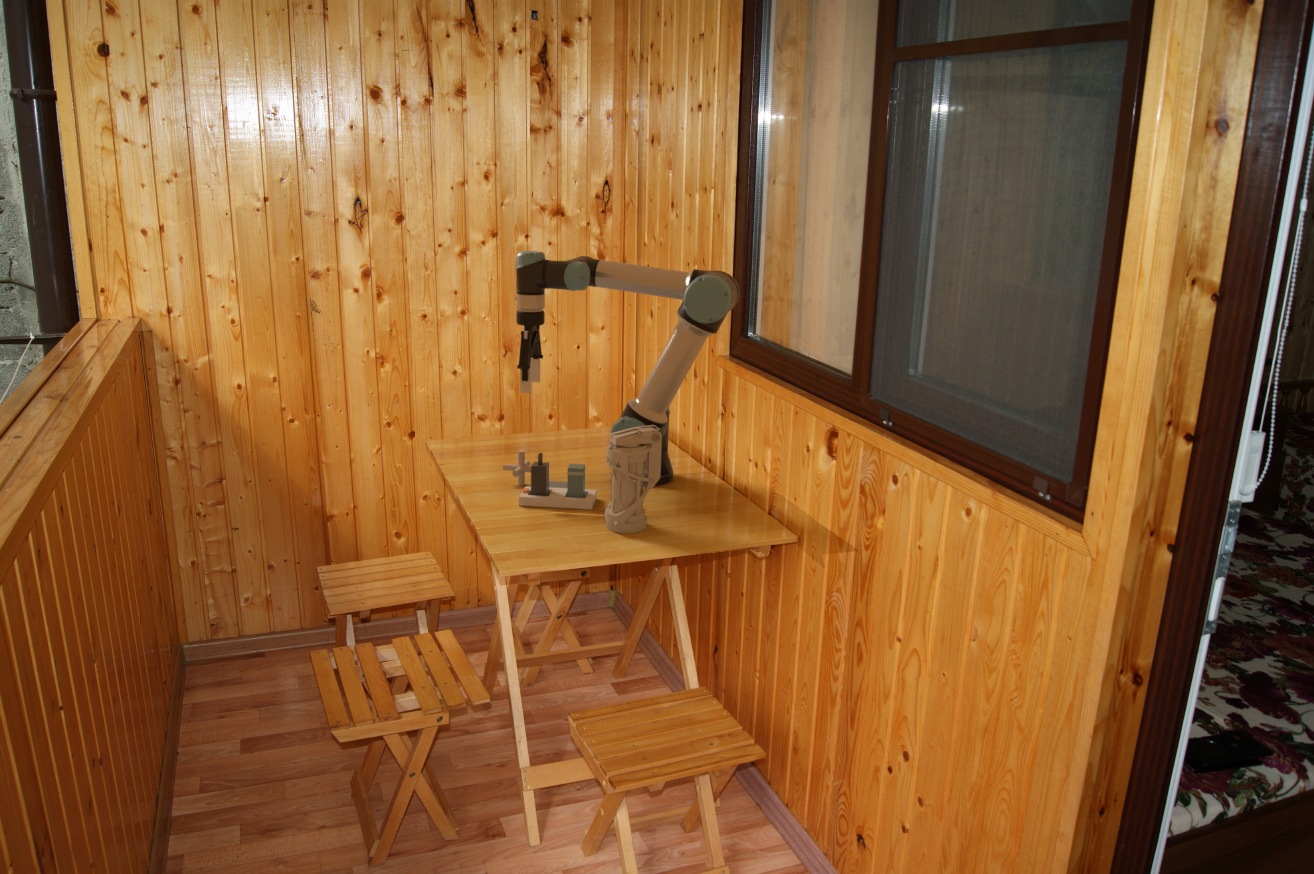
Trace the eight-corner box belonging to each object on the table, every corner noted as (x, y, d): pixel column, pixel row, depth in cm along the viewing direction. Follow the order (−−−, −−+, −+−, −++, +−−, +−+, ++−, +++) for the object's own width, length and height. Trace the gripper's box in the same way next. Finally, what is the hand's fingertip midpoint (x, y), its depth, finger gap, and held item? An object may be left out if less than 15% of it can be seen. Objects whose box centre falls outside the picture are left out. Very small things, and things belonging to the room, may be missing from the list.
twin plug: (548, 498, 274) (549, 451, 270) (546, 503, 270) (546, 455, 266) (533, 498, 274) (534, 450, 270) (531, 502, 270) (531, 454, 267)
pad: (583, 484, 289) (583, 482, 289) (577, 495, 279) (577, 493, 279) (547, 482, 289) (547, 480, 289) (541, 493, 280) (541, 491, 280)
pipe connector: (533, 493, 280) (533, 457, 277) (498, 489, 282) (497, 454, 279) (544, 482, 289) (544, 447, 287) (510, 479, 291) (510, 444, 289)
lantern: (612, 535, 250) (614, 435, 244) (599, 521, 259) (601, 424, 253) (662, 530, 255) (666, 432, 248) (648, 517, 264) (651, 421, 258)
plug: (584, 500, 273) (585, 464, 270) (582, 505, 269) (583, 468, 266) (569, 499, 273) (569, 463, 271) (567, 504, 269) (567, 468, 267)
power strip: (596, 500, 275) (596, 488, 274) (591, 511, 267) (592, 498, 266) (525, 496, 277) (525, 484, 276) (518, 507, 268) (518, 494, 267)
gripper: (525, 303, 290) (525, 377, 296) (506, 315, 266) (507, 396, 272) (552, 304, 290) (551, 378, 295) (535, 317, 266) (535, 397, 271)
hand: (530, 387), depth 284 cm, fingers open, 13 cm apart
